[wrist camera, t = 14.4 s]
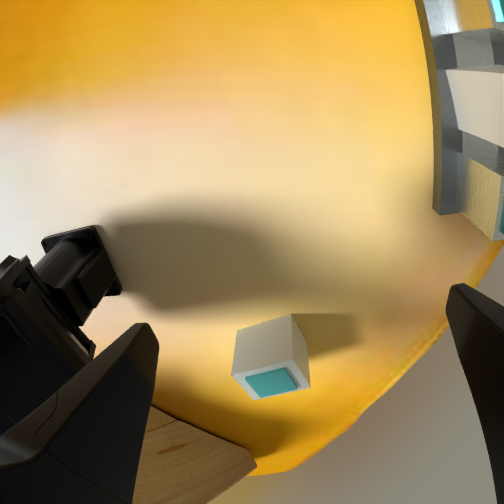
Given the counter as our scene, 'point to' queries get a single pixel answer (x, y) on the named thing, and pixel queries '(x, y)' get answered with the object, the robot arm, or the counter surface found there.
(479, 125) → the block
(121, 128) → the counter surface
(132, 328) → the robot arm
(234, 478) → the knife block
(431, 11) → the module docking base
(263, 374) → the block
